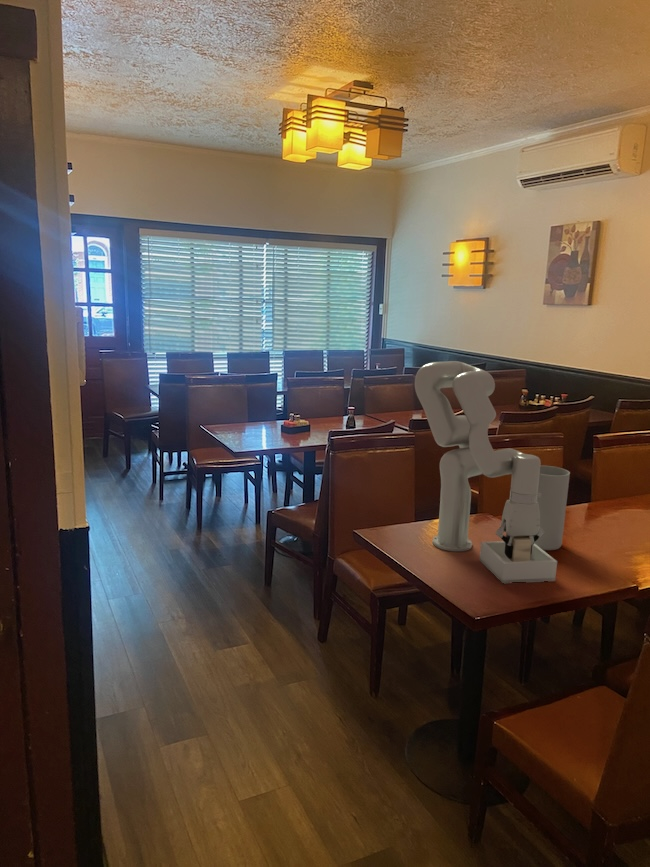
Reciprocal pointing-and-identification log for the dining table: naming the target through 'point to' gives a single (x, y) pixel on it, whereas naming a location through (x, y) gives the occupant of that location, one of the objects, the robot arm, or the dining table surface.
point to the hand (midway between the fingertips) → (517, 555)
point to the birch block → (521, 548)
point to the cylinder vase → (552, 505)
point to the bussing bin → (518, 564)
